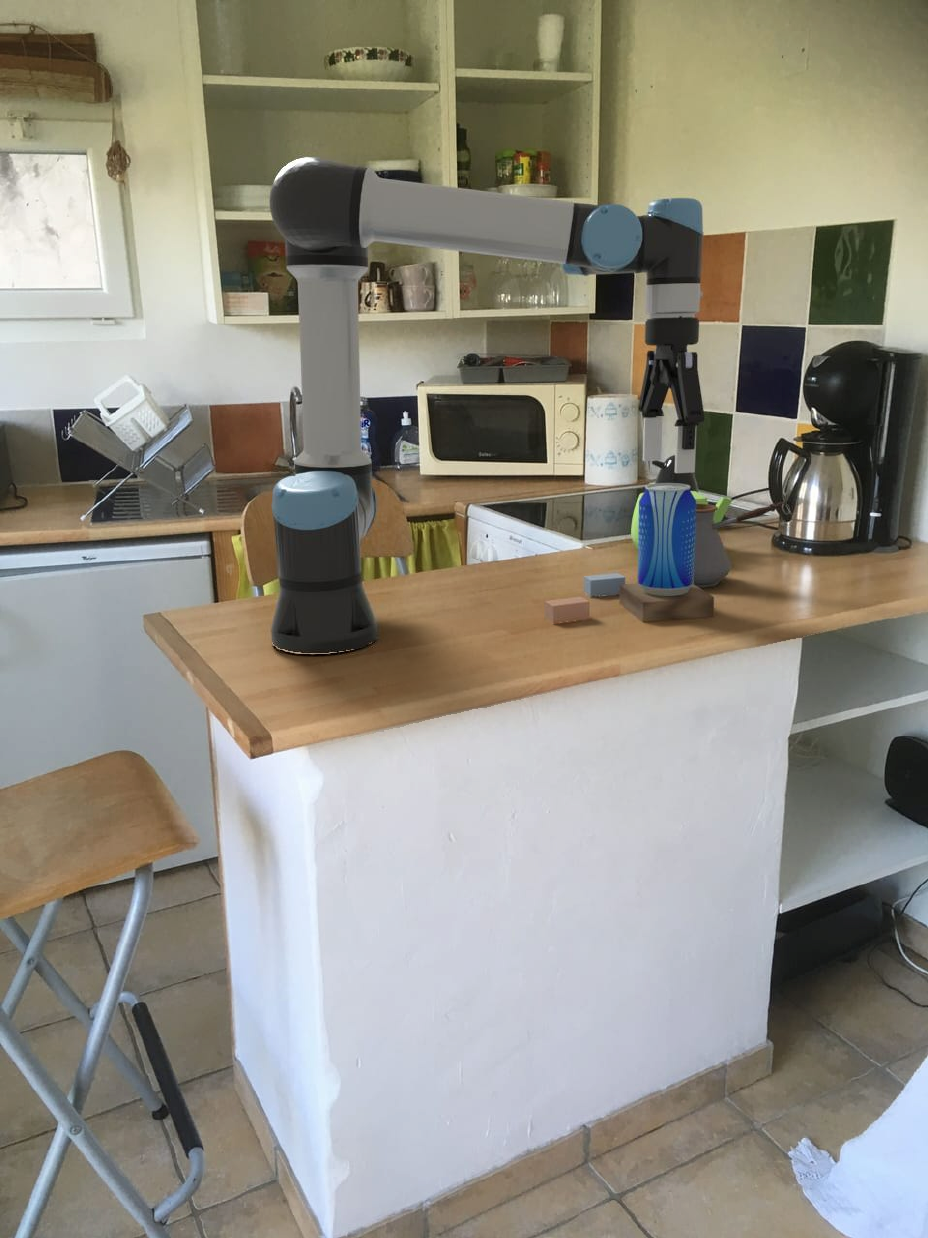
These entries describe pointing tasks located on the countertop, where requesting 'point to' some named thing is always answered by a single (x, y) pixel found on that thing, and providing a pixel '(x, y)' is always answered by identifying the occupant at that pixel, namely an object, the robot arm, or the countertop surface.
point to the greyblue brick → (603, 584)
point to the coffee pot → (716, 543)
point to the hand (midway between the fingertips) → (667, 466)
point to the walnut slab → (666, 604)
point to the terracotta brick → (567, 609)
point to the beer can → (666, 539)
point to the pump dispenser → (674, 474)
